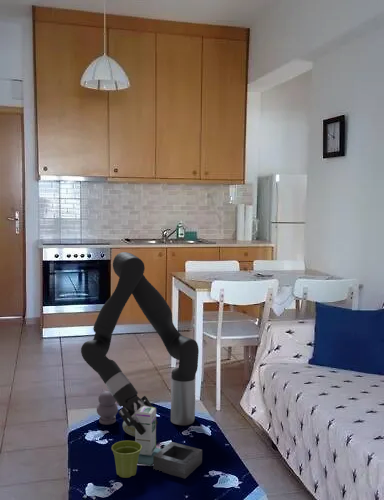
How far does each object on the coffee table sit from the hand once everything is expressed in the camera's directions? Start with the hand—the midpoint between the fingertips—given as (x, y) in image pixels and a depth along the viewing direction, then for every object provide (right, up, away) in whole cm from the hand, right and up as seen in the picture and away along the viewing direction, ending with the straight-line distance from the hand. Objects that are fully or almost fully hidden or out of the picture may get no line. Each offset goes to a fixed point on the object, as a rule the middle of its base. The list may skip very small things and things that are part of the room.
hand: (149, 429), depth 180 cm
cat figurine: (-19, -7, +29) cm, 35 cm away
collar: (+10, -10, -5) cm, 15 cm away
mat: (-1, -9, +2) cm, 10 cm away
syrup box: (-2, -8, +2) cm, 8 cm away
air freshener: (-6, -8, +19) cm, 21 cm away
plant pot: (-7, -11, -10) cm, 16 cm away
